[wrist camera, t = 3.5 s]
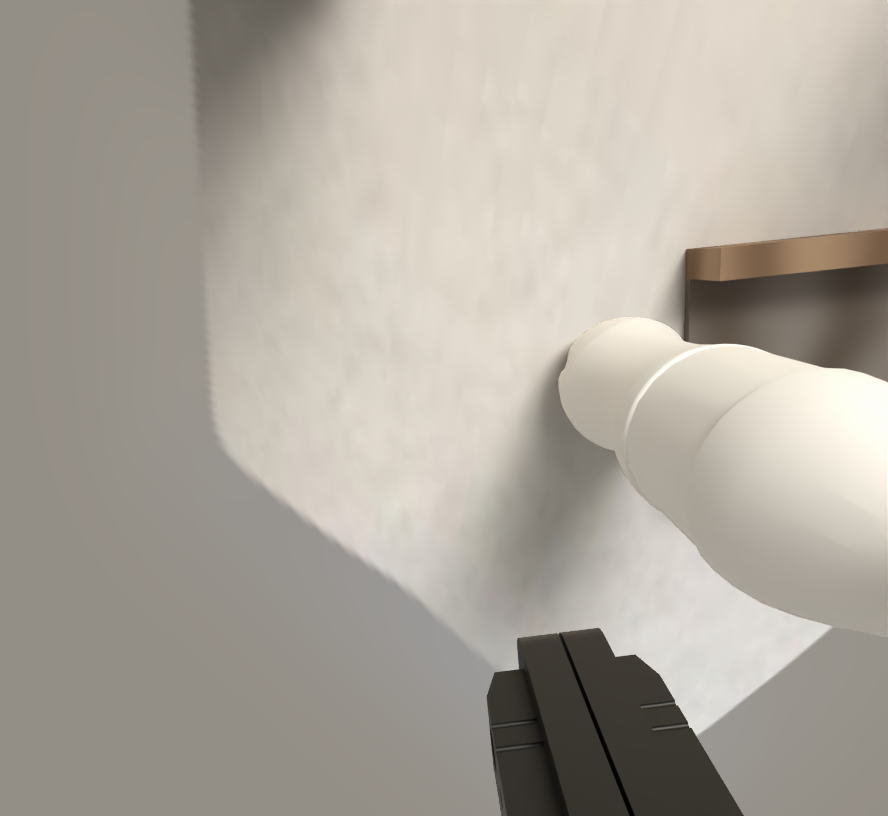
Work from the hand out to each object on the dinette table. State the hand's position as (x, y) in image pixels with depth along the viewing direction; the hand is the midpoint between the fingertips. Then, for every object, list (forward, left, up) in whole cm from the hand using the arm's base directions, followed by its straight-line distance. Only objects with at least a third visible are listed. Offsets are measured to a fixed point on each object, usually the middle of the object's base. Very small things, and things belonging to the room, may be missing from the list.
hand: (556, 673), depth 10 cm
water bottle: (+9, 0, -23) cm, 24 cm away
